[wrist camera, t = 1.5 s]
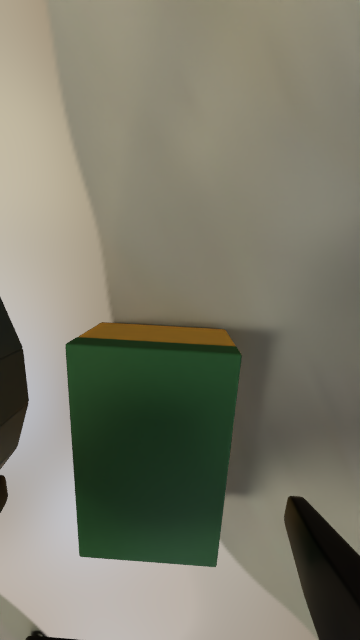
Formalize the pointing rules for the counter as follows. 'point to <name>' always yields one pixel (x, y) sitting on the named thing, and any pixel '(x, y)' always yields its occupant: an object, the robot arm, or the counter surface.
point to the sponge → (151, 440)
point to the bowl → (11, 387)
